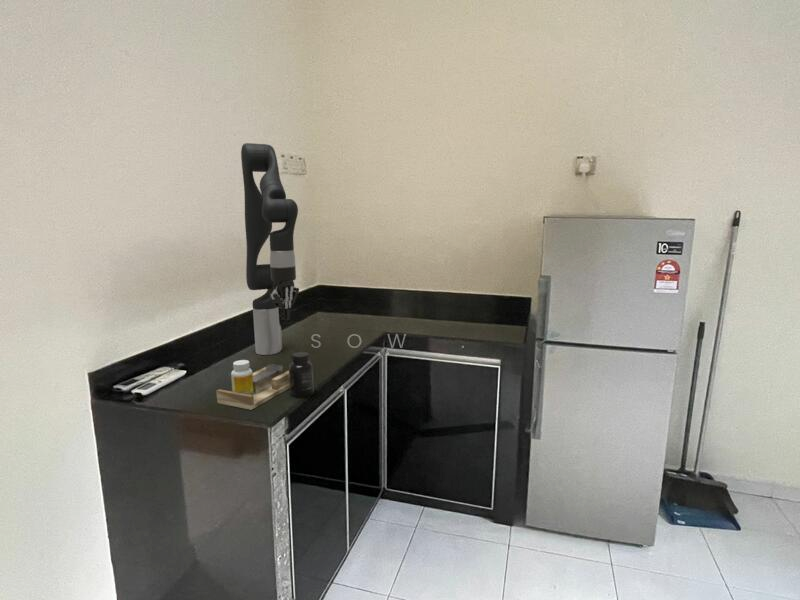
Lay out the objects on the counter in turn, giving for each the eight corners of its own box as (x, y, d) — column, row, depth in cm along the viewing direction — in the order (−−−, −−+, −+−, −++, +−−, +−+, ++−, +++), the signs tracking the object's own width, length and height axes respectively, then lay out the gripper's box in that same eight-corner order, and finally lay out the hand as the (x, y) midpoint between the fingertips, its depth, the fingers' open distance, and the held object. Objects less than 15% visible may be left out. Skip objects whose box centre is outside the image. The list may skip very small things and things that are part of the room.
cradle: (269, 376, 155) (269, 364, 154) (300, 381, 150) (300, 368, 149) (217, 403, 134) (216, 388, 133) (251, 409, 129) (250, 395, 129)
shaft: (270, 378, 150) (269, 363, 149) (283, 380, 148) (282, 365, 147) (244, 391, 139) (243, 376, 138) (257, 394, 137) (256, 378, 136)
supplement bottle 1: (229, 397, 135) (226, 362, 133) (247, 391, 139) (244, 357, 137) (239, 402, 131) (236, 366, 129) (257, 396, 136) (255, 361, 134)
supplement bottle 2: (315, 389, 144) (313, 350, 142) (312, 397, 137) (310, 357, 135) (292, 389, 144) (290, 351, 142) (288, 398, 137) (285, 358, 135)
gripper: (279, 268, 140) (282, 325, 143) (305, 263, 152) (307, 316, 155) (258, 267, 143) (262, 323, 146) (285, 262, 155) (288, 314, 158)
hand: (285, 319), depth 151 cm, fingers closed
